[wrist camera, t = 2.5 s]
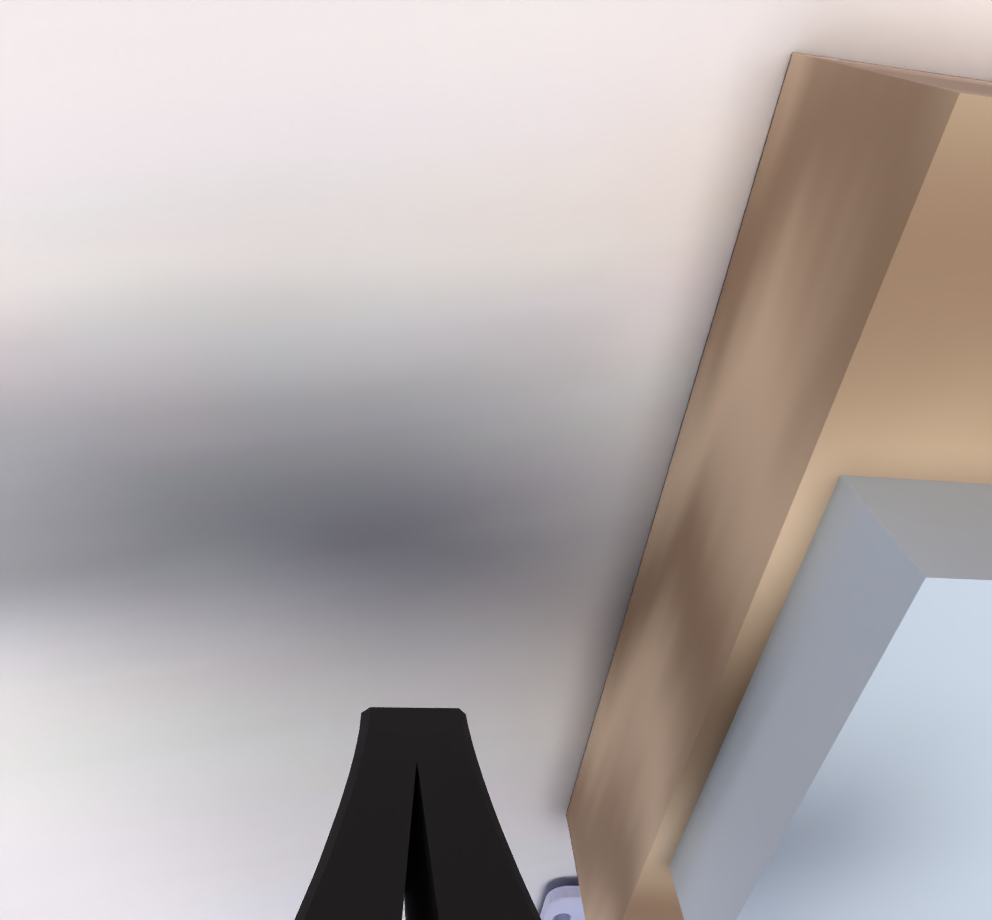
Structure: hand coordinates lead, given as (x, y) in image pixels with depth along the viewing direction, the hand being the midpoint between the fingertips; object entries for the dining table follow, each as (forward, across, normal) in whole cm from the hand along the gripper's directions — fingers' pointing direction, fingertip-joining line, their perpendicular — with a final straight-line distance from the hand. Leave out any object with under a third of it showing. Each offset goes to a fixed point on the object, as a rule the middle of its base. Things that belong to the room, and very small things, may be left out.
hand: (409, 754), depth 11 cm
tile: (+1, -8, 0) cm, 8 cm away
